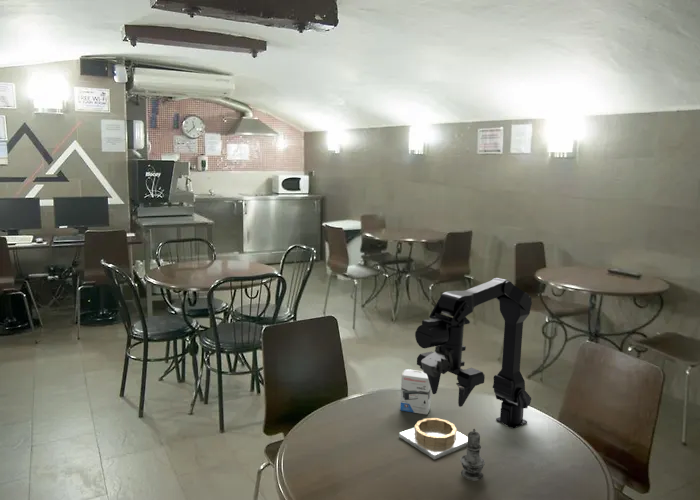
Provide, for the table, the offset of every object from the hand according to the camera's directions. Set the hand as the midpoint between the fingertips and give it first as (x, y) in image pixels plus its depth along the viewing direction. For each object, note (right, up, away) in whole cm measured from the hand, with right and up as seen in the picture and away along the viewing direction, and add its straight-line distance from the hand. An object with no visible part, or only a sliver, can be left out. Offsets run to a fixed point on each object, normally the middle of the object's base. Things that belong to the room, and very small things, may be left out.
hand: (447, 399), depth 143 cm
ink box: (-5, -10, +26) cm, 29 cm away
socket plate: (-2, -13, +8) cm, 16 cm away
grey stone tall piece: (+5, -16, -8) cm, 19 cm away
